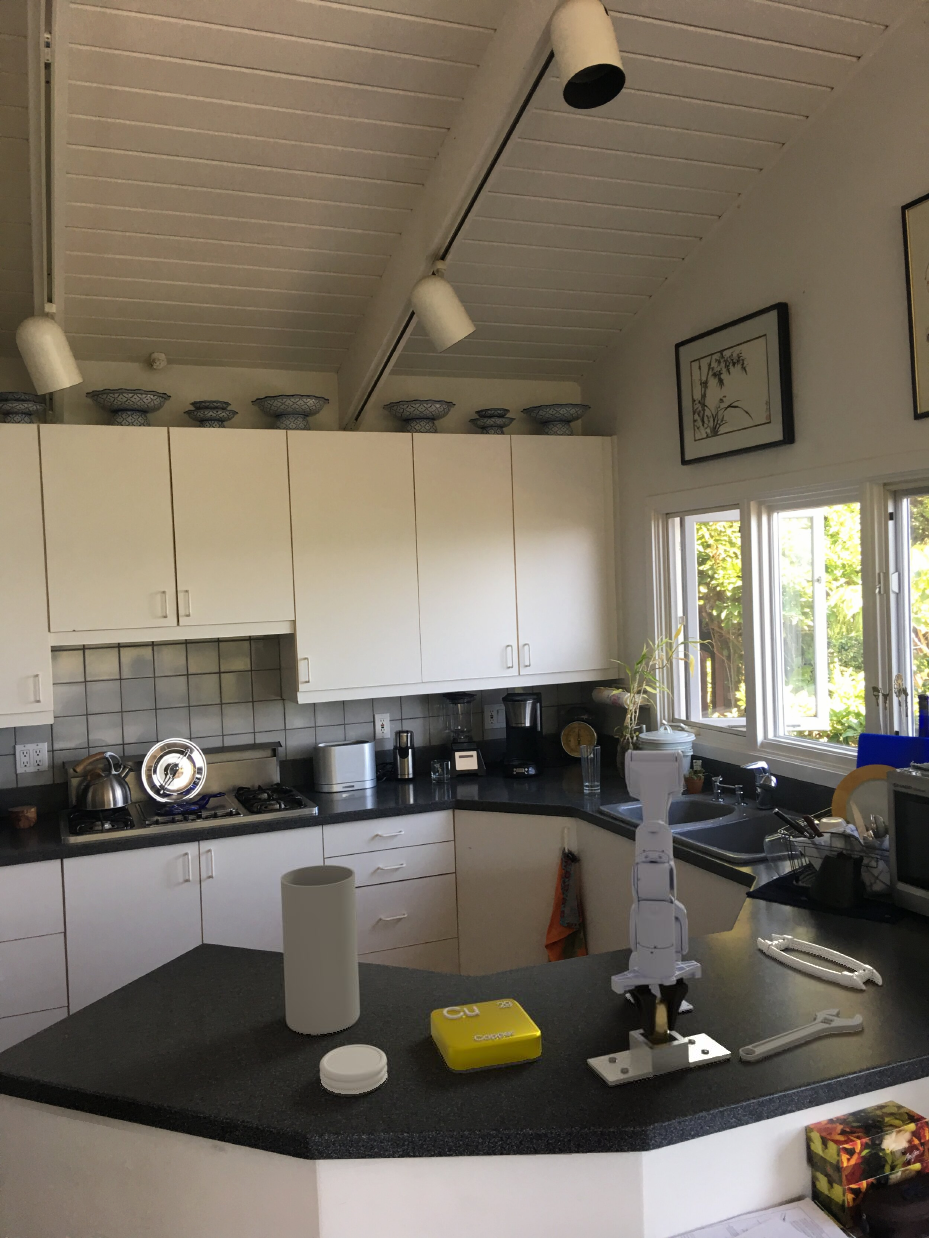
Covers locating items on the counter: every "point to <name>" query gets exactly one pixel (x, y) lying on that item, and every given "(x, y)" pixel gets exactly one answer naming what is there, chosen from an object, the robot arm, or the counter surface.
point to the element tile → (485, 1034)
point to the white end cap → (353, 1069)
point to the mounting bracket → (657, 1057)
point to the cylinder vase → (320, 949)
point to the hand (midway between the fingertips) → (658, 1030)
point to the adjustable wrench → (803, 1033)
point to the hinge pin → (660, 1022)
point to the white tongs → (842, 978)
